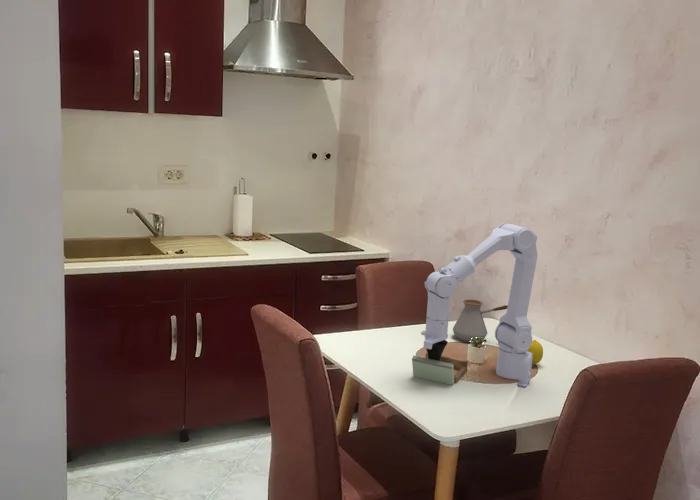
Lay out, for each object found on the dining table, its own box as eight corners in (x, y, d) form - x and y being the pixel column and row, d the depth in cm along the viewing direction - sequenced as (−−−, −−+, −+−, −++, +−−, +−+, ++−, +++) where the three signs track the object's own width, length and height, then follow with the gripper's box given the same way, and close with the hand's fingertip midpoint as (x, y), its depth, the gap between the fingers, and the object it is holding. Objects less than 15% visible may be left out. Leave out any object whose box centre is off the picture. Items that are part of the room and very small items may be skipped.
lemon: (542, 369, 196) (545, 343, 194) (523, 367, 197) (526, 341, 196) (540, 363, 201) (543, 338, 200) (522, 361, 202) (525, 336, 201)
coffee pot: (447, 339, 219) (451, 295, 216) (458, 331, 229) (462, 289, 226) (511, 353, 209) (516, 307, 206) (519, 344, 219) (524, 300, 216)
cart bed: (466, 375, 187) (467, 360, 186) (455, 388, 176) (457, 372, 176) (425, 367, 191) (427, 352, 191) (413, 379, 181) (414, 363, 180)
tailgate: (454, 383, 176) (453, 363, 172) (452, 386, 175) (452, 367, 171) (415, 374, 180) (413, 355, 177) (413, 377, 179) (412, 358, 176)
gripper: (431, 308, 181) (427, 355, 184) (413, 322, 168) (410, 372, 171) (456, 313, 178) (452, 360, 181) (440, 327, 166) (436, 378, 168)
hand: (433, 366), depth 176 cm, fingers closed, pressing on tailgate
